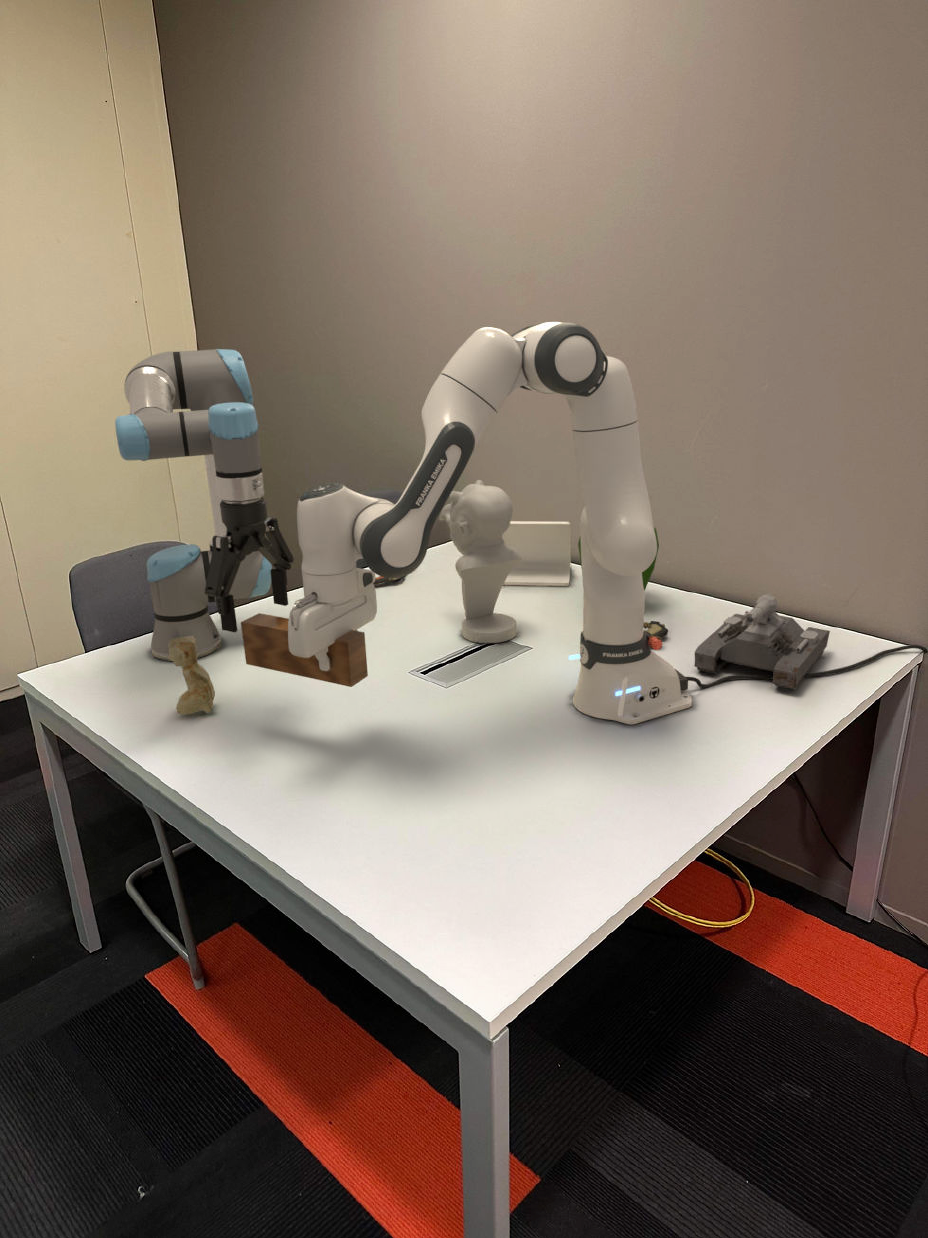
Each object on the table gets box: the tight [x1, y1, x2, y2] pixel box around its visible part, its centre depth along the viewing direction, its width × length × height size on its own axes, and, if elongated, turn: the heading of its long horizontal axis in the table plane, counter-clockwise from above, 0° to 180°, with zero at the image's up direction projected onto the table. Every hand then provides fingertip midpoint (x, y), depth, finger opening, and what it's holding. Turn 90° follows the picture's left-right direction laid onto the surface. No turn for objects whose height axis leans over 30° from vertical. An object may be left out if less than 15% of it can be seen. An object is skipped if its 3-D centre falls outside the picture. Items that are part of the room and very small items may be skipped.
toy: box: [694, 594, 831, 691], centre depth 176 cm, size 25×20×15 cm
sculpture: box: [168, 637, 216, 716], centre depth 162 cm, size 6×7×15 cm
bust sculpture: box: [438, 479, 523, 644], centre depth 196 cm, size 16×24×35 cm, turn 28°
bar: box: [240, 613, 369, 688], centre depth 147 cm, size 23×5×8 cm, turn 62°
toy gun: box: [373, 575, 402, 586], centre depth 239 cm, size 3×19×10 cm
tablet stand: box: [502, 520, 572, 587], centre depth 236 cm, size 18×25×17 cm
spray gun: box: [643, 620, 669, 643], centre depth 193 cm, size 4×17×15 cm
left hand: (256, 617), depth 150 cm, fingers open, 13 cm apart
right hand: (337, 662), depth 144 cm, fingers closed on bar, 5 cm apart
